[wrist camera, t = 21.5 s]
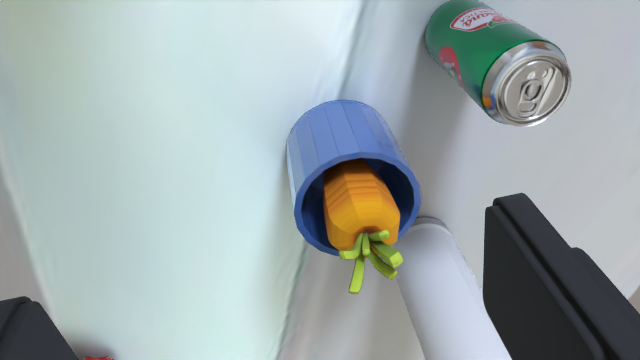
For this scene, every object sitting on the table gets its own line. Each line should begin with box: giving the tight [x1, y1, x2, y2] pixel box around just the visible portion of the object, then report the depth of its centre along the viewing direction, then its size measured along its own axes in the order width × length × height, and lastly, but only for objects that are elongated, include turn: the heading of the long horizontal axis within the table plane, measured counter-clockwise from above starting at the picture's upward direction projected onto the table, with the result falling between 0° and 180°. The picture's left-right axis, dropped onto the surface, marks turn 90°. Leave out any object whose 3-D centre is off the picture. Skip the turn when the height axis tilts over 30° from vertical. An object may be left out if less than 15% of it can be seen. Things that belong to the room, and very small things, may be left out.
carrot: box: [323, 158, 403, 294], centre depth 34 cm, size 5×5×15 cm
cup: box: [286, 100, 421, 256], centre depth 38 cm, size 9×9×8 cm
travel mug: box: [391, 217, 512, 360], centre depth 39 cm, size 6×7×20 cm
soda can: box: [425, 0, 571, 127], centre depth 32 cm, size 5×5×12 cm
